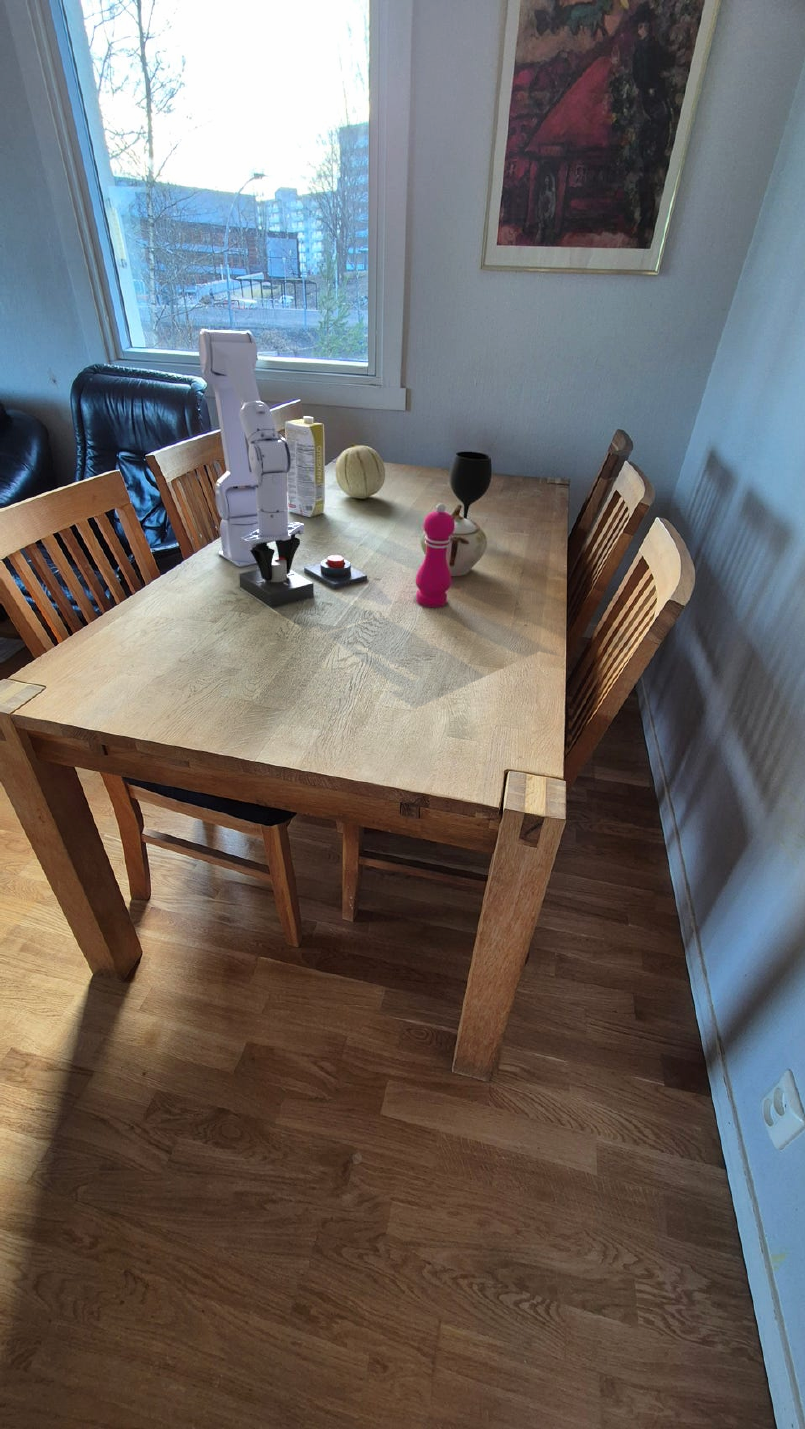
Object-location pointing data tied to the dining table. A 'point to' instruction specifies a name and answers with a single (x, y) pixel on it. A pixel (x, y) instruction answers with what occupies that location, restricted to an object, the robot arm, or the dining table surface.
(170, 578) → the dining table surface
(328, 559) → the power button
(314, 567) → the button block
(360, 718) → the dining table surface
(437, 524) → the pepper mill
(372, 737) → the dining table surface
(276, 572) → the timer knob
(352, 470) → the cantaloupe
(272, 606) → the panel
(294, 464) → the juice carton
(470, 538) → the sugar bowl
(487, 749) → the dining table surface
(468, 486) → the wine glass
